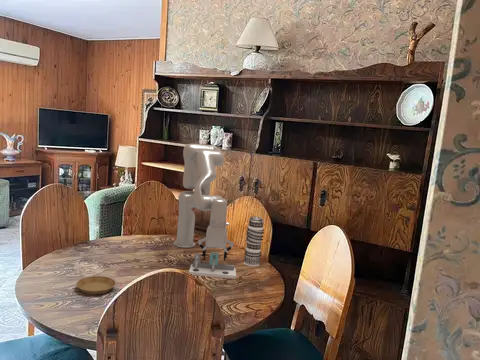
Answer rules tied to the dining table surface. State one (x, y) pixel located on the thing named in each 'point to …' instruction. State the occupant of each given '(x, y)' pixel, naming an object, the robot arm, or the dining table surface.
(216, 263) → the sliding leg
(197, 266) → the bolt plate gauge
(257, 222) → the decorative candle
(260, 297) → the dining table surface
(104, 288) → the plant saucer
